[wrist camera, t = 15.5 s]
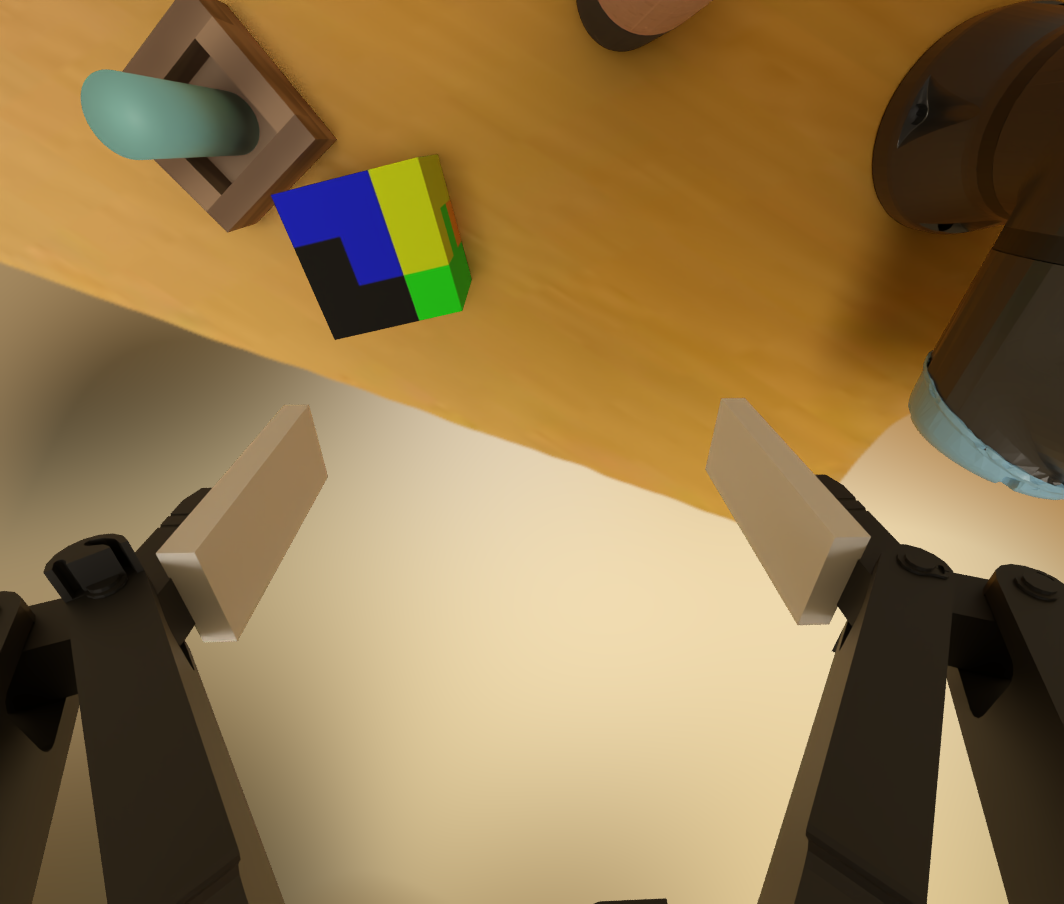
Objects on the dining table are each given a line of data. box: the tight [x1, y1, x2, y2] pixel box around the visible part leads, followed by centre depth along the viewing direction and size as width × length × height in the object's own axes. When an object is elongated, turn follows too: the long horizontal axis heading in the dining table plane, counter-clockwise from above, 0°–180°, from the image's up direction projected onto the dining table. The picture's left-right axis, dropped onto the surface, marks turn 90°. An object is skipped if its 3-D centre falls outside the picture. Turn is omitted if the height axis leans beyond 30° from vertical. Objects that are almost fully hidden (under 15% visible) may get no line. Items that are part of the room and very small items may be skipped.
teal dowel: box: [81, 70, 260, 160], centre depth 32 cm, size 4×4×12 cm
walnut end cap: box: [122, 0, 337, 232], centre depth 36 cm, size 10×10×5 cm
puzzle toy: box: [271, 154, 472, 340], centre depth 39 cm, size 10×10×10 cm
